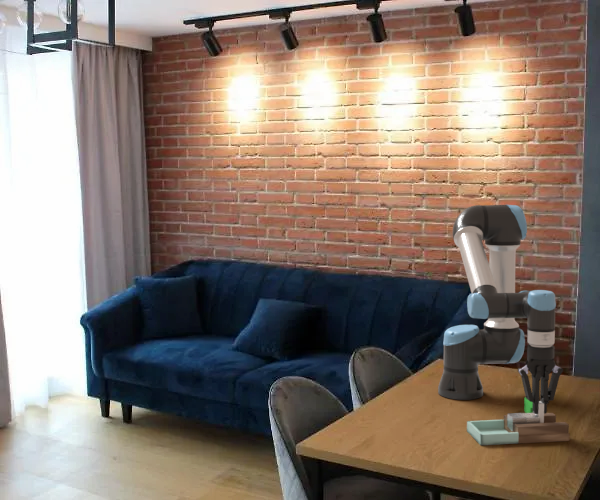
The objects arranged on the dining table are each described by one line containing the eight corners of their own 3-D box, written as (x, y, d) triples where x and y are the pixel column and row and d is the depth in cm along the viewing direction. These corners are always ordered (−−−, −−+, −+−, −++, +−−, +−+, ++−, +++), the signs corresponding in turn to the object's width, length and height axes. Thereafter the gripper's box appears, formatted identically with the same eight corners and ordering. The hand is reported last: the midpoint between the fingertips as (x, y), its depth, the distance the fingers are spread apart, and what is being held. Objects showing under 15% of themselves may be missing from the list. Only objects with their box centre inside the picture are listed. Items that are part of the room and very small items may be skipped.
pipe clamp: (542, 422, 238) (543, 408, 237) (530, 422, 238) (530, 407, 237) (536, 411, 249) (536, 397, 248) (524, 410, 249) (524, 396, 248)
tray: (466, 431, 230) (466, 421, 230) (502, 429, 231) (502, 419, 231) (480, 445, 218) (480, 434, 218) (518, 443, 219) (518, 433, 219)
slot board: (502, 429, 231) (503, 414, 231) (551, 426, 233) (551, 412, 232) (518, 443, 219) (518, 427, 219) (569, 440, 221) (569, 425, 221)
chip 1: (507, 426, 227) (507, 413, 227) (520, 426, 228) (520, 412, 227) (512, 431, 223) (512, 417, 223) (525, 430, 224) (526, 417, 223)
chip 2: (520, 426, 227) (521, 413, 227) (534, 425, 228) (534, 412, 228) (526, 431, 224) (526, 417, 223) (539, 430, 224) (540, 416, 224)
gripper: (524, 348, 219) (522, 429, 222) (568, 346, 220) (566, 427, 223) (513, 342, 226) (512, 421, 229) (556, 340, 228) (555, 419, 230)
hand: (539, 424), depth 226 cm, fingers closed
